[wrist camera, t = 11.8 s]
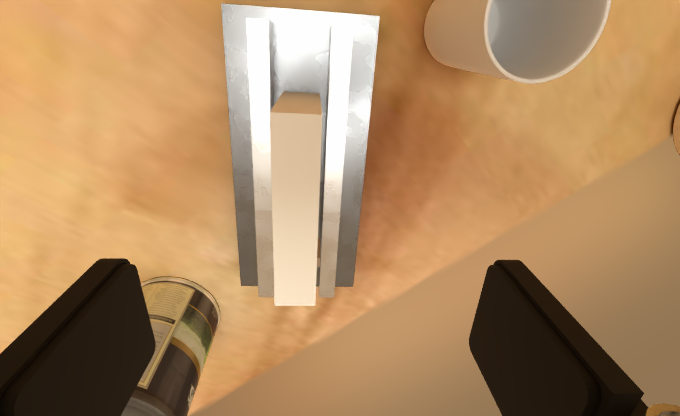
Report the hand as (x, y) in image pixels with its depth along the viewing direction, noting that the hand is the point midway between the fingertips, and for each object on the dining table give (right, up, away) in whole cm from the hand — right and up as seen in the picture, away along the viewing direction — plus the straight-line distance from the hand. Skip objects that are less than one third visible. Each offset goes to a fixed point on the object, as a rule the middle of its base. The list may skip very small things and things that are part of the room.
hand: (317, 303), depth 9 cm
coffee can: (-18, -9, +30) cm, 36 cm away
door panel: (-3, +6, +22) cm, 23 cm away
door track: (-3, +7, +24) cm, 25 cm away
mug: (+10, +19, +19) cm, 29 cm away
